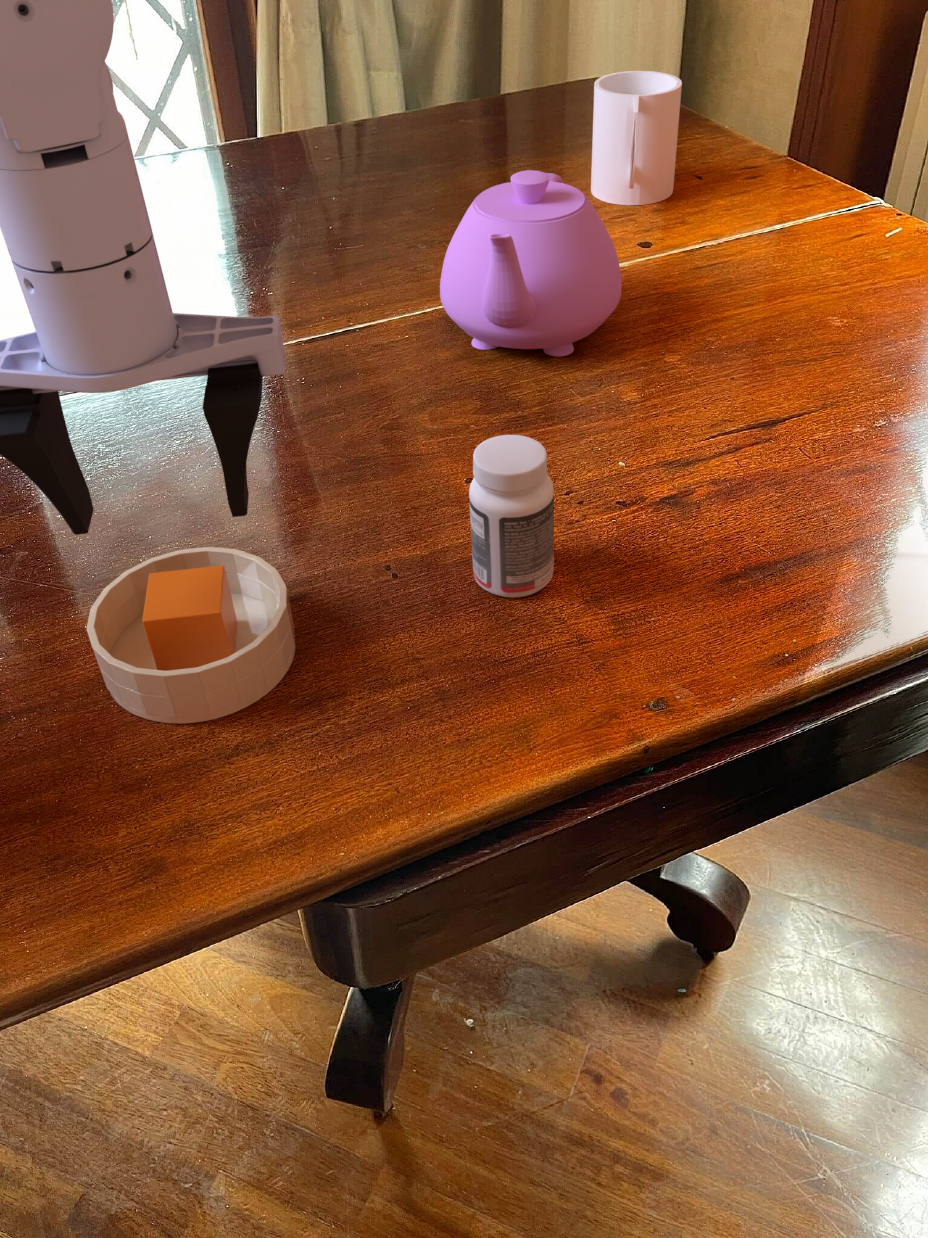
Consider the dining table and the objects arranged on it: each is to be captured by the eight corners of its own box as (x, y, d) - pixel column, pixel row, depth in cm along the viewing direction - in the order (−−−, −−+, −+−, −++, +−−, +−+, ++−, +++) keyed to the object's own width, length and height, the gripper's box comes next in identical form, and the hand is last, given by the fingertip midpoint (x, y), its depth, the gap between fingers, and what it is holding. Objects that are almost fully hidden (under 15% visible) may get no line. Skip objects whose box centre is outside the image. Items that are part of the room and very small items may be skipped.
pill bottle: (565, 560, 65) (568, 439, 60) (535, 608, 62) (535, 485, 56) (492, 542, 67) (488, 423, 61) (459, 588, 64) (452, 466, 58)
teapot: (592, 405, 78) (599, 239, 70) (405, 386, 82) (391, 225, 74) (635, 287, 93) (645, 138, 85) (474, 275, 96) (469, 130, 88)
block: (159, 678, 58) (141, 621, 56) (165, 628, 61) (148, 572, 59) (234, 669, 58) (220, 612, 56) (237, 620, 61) (223, 564, 59)
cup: (586, 219, 105) (589, 108, 98) (593, 175, 114) (596, 70, 107) (673, 220, 104) (682, 108, 97) (673, 175, 112) (681, 70, 106)
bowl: (92, 735, 56) (74, 686, 54) (116, 605, 64) (100, 557, 61) (296, 711, 57) (286, 661, 54) (295, 585, 64) (286, 537, 62)
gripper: (262, 190, 48) (309, 453, 57) (-73, 224, 47) (28, 483, 56) (257, 255, 43) (310, 533, 52) (-120, 294, 42) (0, 568, 51)
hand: (162, 513), depth 54 cm, fingers open, 7 cm apart
